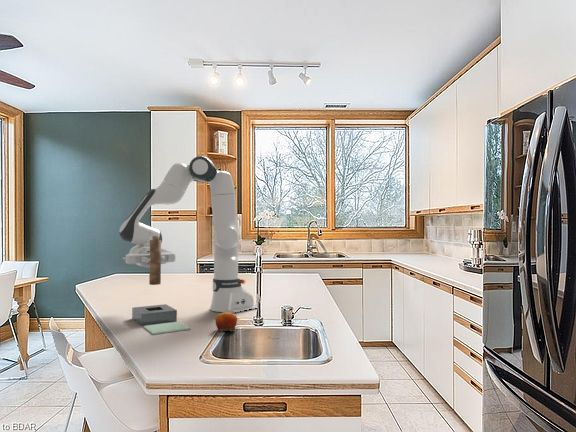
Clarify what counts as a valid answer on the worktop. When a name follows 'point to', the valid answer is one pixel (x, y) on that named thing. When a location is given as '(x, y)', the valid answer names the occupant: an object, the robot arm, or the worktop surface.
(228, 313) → the fruit
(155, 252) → the bottle
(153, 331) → the mat
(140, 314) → the housing
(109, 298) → the worktop surface
